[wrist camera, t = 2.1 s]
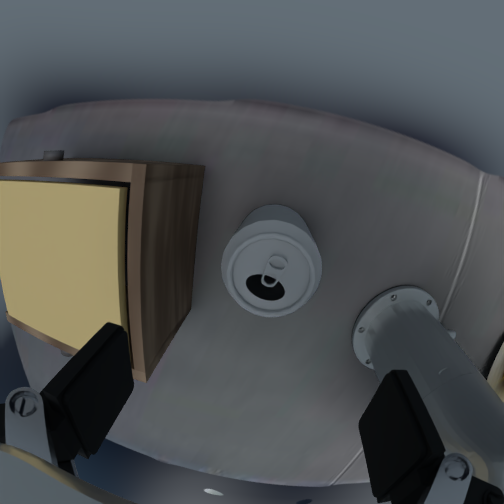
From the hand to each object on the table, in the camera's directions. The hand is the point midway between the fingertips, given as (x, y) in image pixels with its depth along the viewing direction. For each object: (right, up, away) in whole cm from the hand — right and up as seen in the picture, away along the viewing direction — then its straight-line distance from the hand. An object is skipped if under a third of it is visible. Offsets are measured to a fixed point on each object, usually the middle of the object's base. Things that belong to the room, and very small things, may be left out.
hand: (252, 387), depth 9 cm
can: (+2, +6, +22) cm, 23 cm away
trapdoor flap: (-17, +4, +10) cm, 20 cm away
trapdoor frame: (-16, +7, +23) cm, 29 cm away
